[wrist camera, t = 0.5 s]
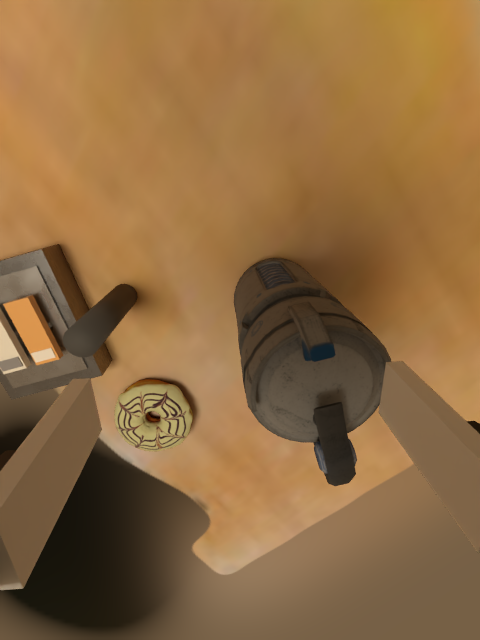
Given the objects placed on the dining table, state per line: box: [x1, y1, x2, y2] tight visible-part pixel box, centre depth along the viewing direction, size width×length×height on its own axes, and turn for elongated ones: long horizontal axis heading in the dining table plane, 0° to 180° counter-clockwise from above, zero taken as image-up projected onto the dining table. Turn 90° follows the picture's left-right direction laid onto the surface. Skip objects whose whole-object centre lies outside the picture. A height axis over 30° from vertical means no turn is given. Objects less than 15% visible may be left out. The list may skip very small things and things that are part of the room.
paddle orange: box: [3, 295, 63, 365], centre depth 37 cm, size 8×3×1 cm, turn 15°
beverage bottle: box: [234, 258, 391, 486], centre depth 31 cm, size 10×13×25 cm
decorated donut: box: [115, 379, 193, 451], centre depth 46 cm, size 10×11×4 cm
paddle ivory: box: [0, 308, 31, 374], centre depth 37 cm, size 8×3×1 cm, turn 15°
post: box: [63, 284, 137, 358], centre depth 35 cm, size 3×3×14 cm
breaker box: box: [0, 244, 112, 399], centre depth 40 cm, size 16×12×5 cm
